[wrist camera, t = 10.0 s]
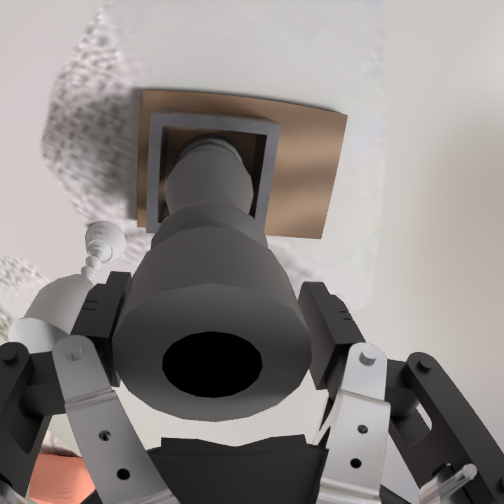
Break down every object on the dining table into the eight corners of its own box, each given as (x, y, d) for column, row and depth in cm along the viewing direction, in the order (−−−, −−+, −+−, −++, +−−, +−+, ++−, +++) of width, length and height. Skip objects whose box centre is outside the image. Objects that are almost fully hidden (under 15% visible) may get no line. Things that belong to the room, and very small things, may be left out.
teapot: (136, 488, 70) (135, 541, 54) (71, 483, 68) (66, 530, 53) (96, 452, 57) (88, 518, 42) (25, 444, 56) (12, 501, 40)
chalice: (144, 258, 36) (112, 382, 20) (97, 276, 36) (50, 394, 21) (115, 202, 32) (51, 306, 17) (67, 225, 33) (-8, 329, 17)
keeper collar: (159, 109, 27) (151, 113, 23) (269, 118, 29) (281, 124, 25) (154, 211, 32) (146, 232, 28) (254, 218, 34) (262, 240, 30)
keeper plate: (145, 90, 27) (142, 90, 26) (342, 113, 31) (347, 115, 30) (139, 221, 34) (137, 227, 33) (316, 233, 37) (320, 239, 36)
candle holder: (164, 165, 30) (66, 363, 8) (210, 119, 28) (208, 218, 7) (209, 206, 33) (217, 442, 11) (254, 164, 31) (359, 356, 9)
